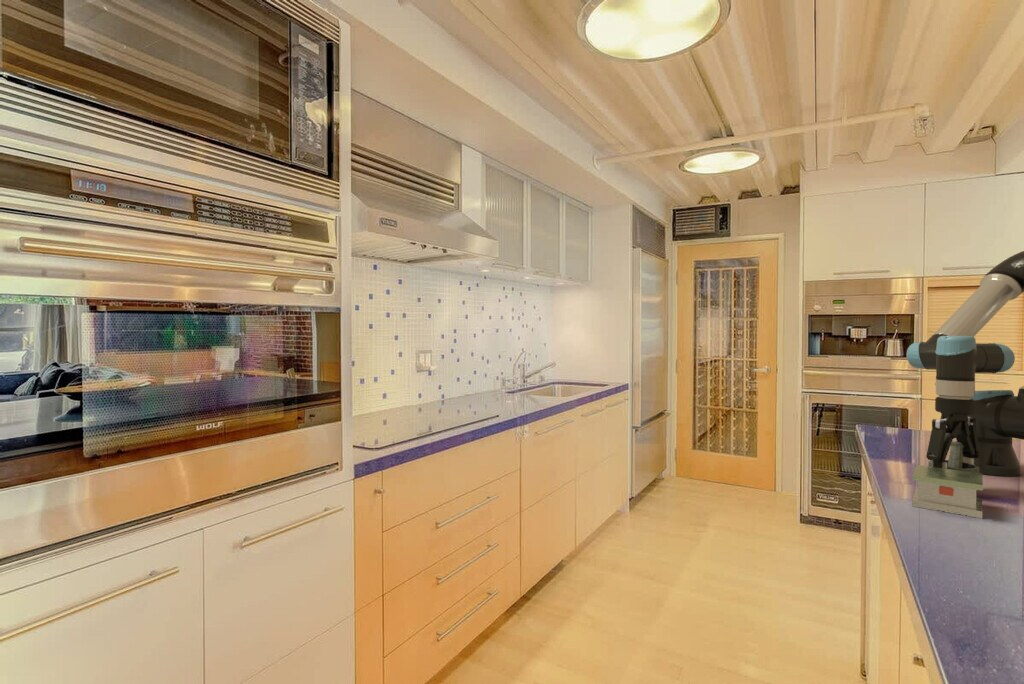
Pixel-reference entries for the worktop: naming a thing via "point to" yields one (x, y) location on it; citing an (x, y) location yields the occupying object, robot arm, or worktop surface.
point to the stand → (948, 490)
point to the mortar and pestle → (958, 459)
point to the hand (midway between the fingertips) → (953, 485)
